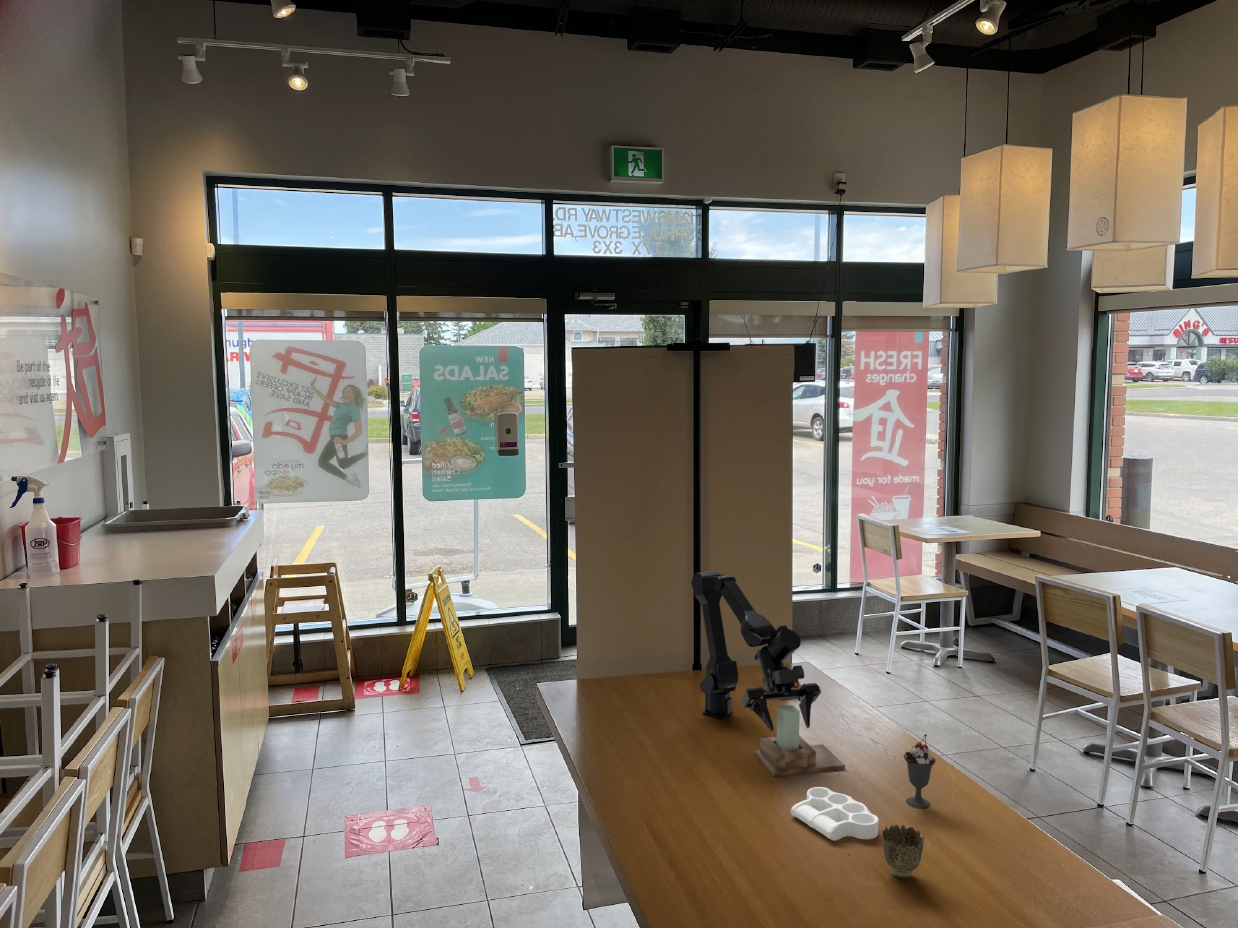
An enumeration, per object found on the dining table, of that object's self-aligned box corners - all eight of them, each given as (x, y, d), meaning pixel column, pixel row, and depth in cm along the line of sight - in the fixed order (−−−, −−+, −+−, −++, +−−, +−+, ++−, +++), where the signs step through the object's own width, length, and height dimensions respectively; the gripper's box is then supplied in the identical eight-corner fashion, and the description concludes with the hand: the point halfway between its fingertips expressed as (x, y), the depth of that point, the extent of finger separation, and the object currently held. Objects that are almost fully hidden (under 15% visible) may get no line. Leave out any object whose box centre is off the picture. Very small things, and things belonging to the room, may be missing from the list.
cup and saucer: (805, 688, 259) (806, 668, 259) (796, 701, 248) (796, 680, 248) (766, 682, 264) (767, 662, 264) (755, 694, 253) (756, 674, 253)
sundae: (933, 797, 191) (936, 732, 189) (934, 812, 185) (936, 744, 183) (902, 793, 193) (904, 728, 192) (901, 807, 187) (904, 740, 185)
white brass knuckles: (780, 812, 185) (830, 795, 193) (841, 851, 170) (893, 832, 177) (780, 797, 185) (831, 781, 192) (841, 835, 169) (894, 816, 177)
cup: (874, 864, 165) (876, 824, 164) (912, 862, 165) (913, 822, 164) (890, 887, 157) (891, 845, 156) (929, 885, 158) (931, 843, 157)
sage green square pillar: (782, 763, 206) (783, 712, 205) (776, 755, 210) (777, 706, 209) (798, 761, 207) (799, 711, 205) (791, 754, 211) (792, 704, 209)
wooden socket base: (773, 776, 201) (773, 757, 201) (755, 754, 213) (755, 736, 212) (844, 768, 205) (845, 750, 205) (822, 747, 217) (823, 730, 216)
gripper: (746, 656, 208) (762, 718, 198) (818, 651, 212) (838, 711, 202) (735, 676, 216) (750, 737, 206) (804, 671, 220) (822, 730, 210)
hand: (790, 728), depth 206 cm, fingers open, 9 cm apart
